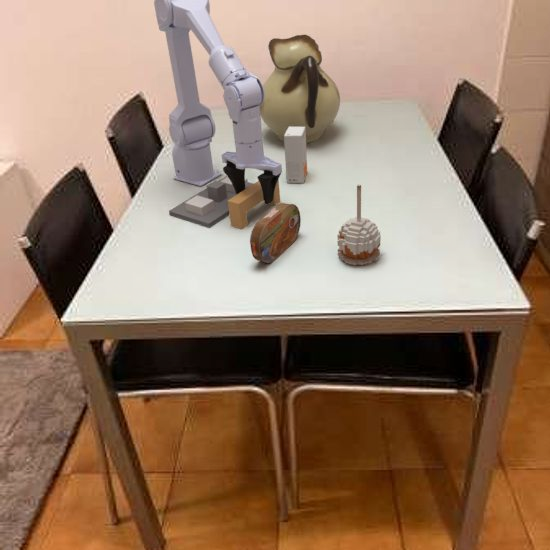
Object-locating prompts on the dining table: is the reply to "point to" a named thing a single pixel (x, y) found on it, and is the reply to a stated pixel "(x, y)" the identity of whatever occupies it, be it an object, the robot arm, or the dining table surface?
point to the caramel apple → (359, 238)
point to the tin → (275, 232)
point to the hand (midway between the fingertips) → (254, 198)
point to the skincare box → (295, 154)
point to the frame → (248, 203)
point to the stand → (208, 203)
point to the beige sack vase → (298, 89)
